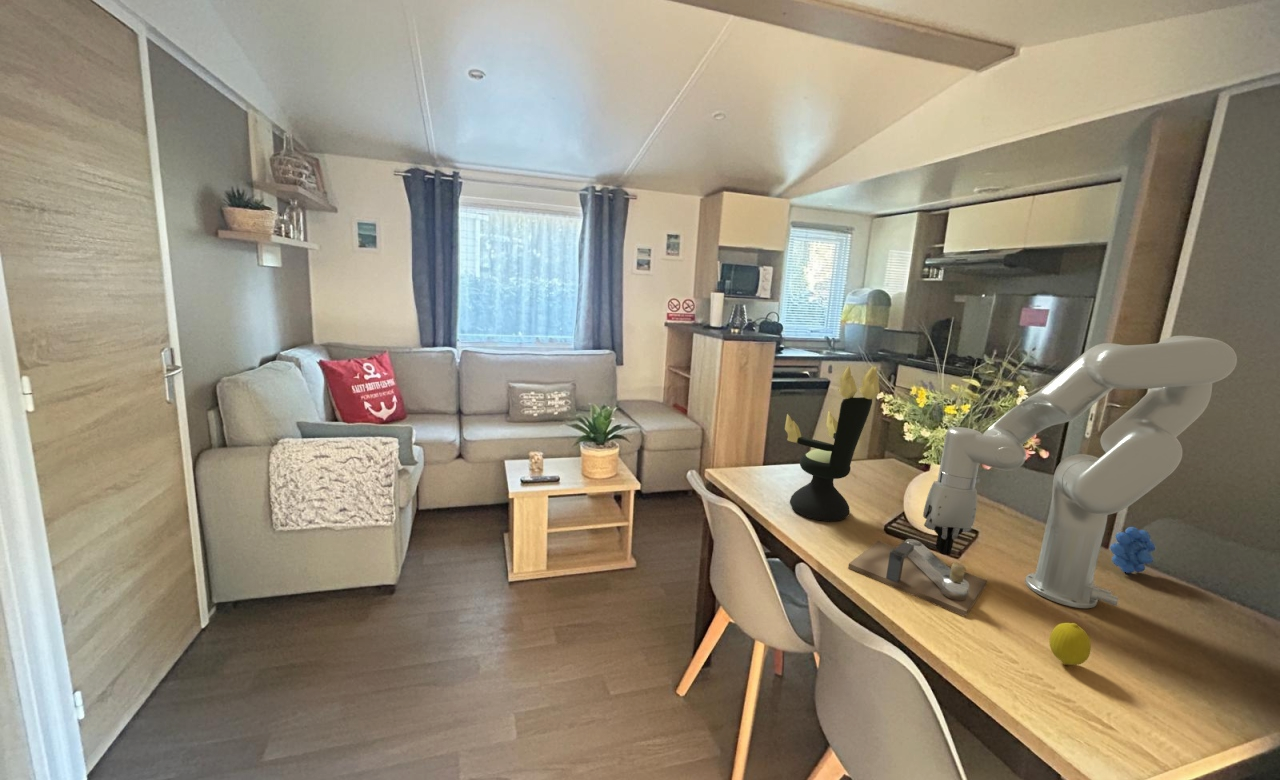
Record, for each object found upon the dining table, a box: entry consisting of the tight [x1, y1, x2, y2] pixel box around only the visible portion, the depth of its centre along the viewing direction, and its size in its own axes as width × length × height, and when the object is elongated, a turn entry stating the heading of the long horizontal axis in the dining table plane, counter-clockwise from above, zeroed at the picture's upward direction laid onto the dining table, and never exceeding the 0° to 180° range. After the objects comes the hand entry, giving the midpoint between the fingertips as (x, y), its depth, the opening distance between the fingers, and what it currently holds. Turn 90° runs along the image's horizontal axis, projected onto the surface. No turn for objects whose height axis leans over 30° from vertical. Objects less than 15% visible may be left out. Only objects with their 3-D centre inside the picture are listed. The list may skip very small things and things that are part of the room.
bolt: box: [904, 538, 969, 600], centre depth 117 cm, size 21×5×3 cm, turn 0°
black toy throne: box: [784, 365, 880, 522], centre depth 147 cm, size 19×22×45 cm
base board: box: [848, 540, 988, 618], centre depth 118 cm, size 24×18×8 cm
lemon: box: [1049, 622, 1092, 666], centre depth 91 cm, size 6×6×8 cm
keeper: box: [886, 541, 914, 583], centre depth 116 cm, size 2×8×6 cm, turn 135°
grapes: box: [1109, 526, 1156, 574], centre depth 125 cm, size 12×7×12 cm, turn 98°
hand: (942, 551), depth 125 cm, fingers closed
